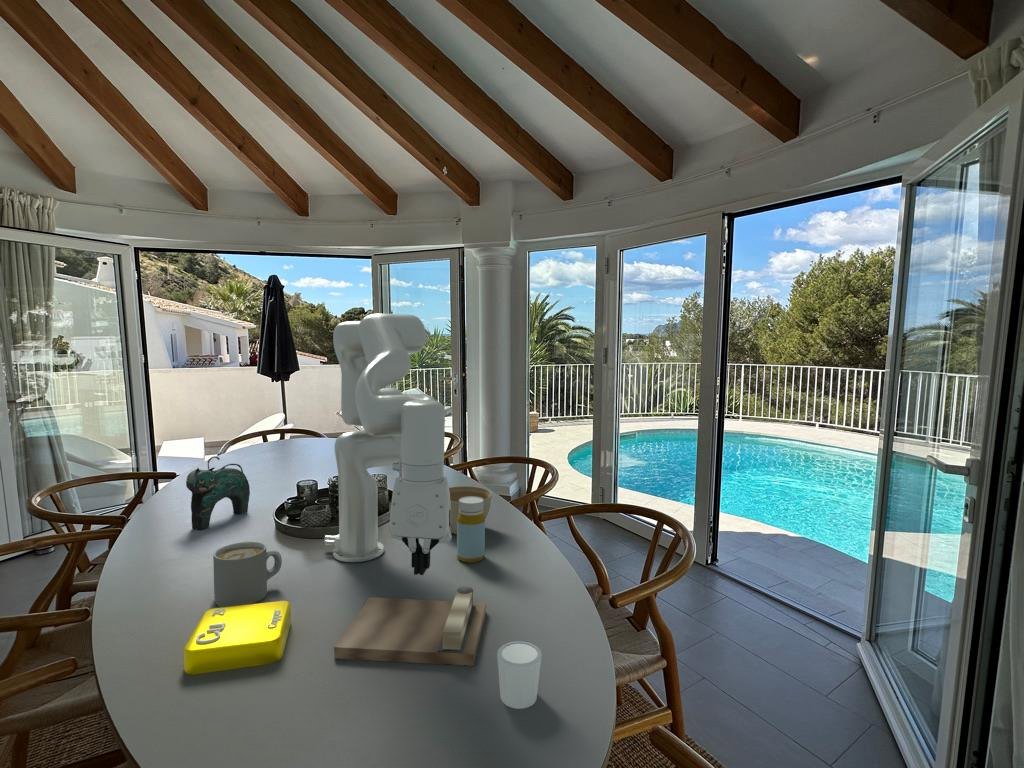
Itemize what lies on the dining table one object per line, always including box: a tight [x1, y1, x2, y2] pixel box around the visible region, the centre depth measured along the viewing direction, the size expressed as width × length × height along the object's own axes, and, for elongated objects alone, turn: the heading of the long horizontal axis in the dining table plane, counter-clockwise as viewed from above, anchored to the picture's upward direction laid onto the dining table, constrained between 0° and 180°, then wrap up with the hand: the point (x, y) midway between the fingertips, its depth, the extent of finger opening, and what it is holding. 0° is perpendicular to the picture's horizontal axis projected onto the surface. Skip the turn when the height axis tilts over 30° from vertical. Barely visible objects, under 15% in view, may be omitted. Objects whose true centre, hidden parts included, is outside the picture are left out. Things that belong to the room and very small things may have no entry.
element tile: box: [183, 600, 292, 675], centre depth 94 cm, size 15×15×5 cm
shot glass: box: [496, 640, 543, 710], centre depth 81 cm, size 7×7×7 cm
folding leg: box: [443, 586, 474, 650], centre depth 98 cm, size 17×3×3 cm, turn 177°
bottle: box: [456, 496, 486, 564], centre depth 134 cm, size 7×7×15 cm
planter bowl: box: [449, 485, 493, 535], centre depth 154 cm, size 16×16×11 cm
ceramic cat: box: [185, 456, 251, 531], centre depth 159 cm, size 20×6×20 cm, turn 161°
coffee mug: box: [212, 541, 283, 608], centre depth 113 cm, size 13×10×10 cm
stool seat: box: [333, 597, 487, 667], centre depth 99 cm, size 24×18×2 cm
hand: (420, 571), depth 95 cm, fingers closed
